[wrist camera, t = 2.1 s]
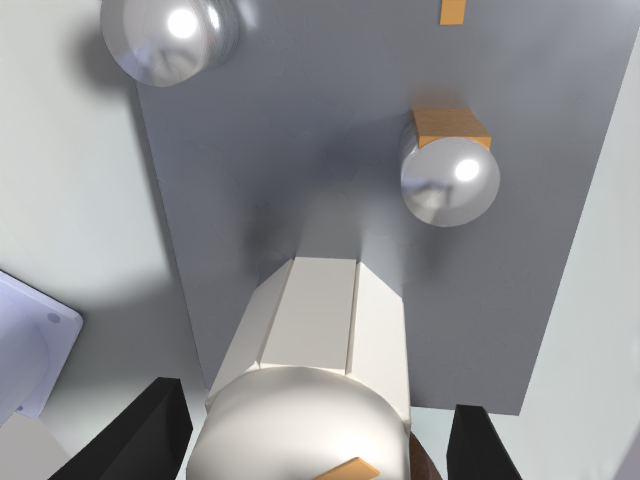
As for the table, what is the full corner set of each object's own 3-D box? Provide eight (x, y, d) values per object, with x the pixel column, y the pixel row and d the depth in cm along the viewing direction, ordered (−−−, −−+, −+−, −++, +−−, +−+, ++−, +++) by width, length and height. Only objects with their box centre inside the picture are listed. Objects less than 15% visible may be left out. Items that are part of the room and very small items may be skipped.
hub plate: (511, 393, 16) (540, 482, 13) (214, 369, 18) (179, 444, 15) (668, -157, 8) (826, -241, 5) (112, -118, 10) (-5, -167, 7)
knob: (328, 391, 16) (302, 579, 11) (227, 313, 15) (143, 484, 10) (433, 326, 14) (462, 522, 9) (324, 229, 13) (284, 390, 8)
